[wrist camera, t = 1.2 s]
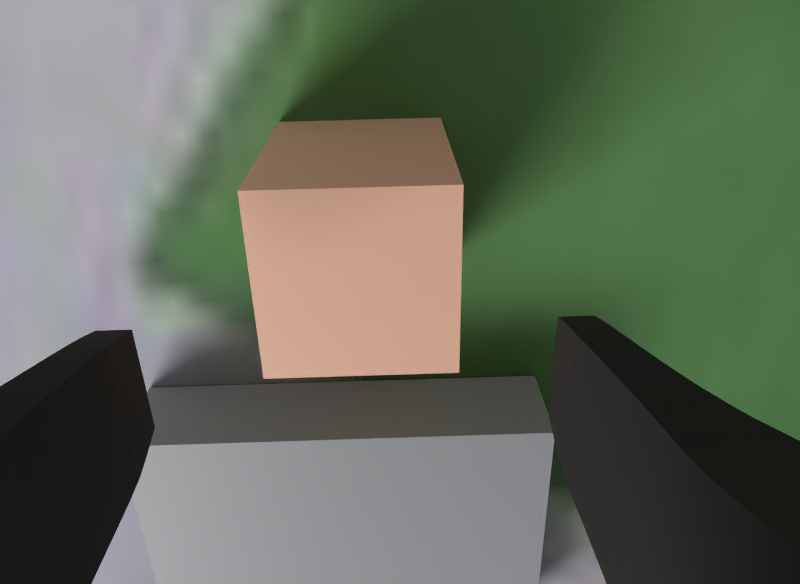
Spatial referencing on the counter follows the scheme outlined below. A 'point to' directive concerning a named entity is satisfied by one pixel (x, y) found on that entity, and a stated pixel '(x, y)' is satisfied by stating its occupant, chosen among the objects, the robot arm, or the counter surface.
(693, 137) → the counter surface
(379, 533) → the plinth
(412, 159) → the terracotta block
